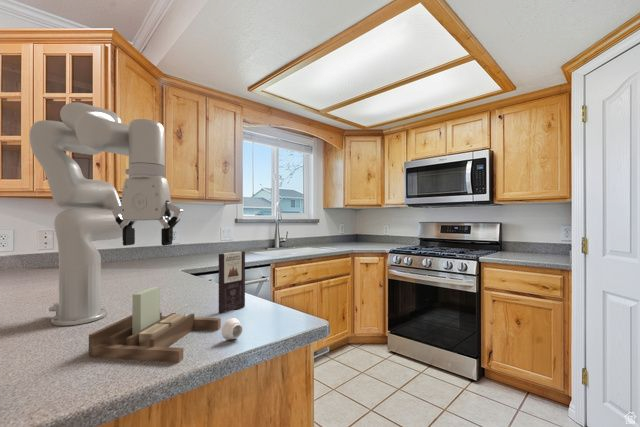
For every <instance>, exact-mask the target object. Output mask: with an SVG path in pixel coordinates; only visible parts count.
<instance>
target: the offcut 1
mask: <svg viewBox="0 0 640 427" xmlns="http://www.w3.org/2000/svg"><path fill="white" fill-rule="evenodd" d="M168 327H169V324H155V325H154V326H152V327H150V328H148V329H146V330H145V331H143V332H141V333H139V346H149V339H151V338H152V337H154V336H155V335H157V334H159V333H160V332H162V331H164V330H165V329H167V328H168Z"/></svg>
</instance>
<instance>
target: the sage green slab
mask: <svg viewBox="0 0 640 427" xmlns="http://www.w3.org/2000/svg"><path fill="white" fill-rule="evenodd" d="M160 313H161V286H151V287H149V288H146V289H143V290H140V291H138V292H134V293H133V294H132V314H131V315H132V335H133V334H135V333H137V332H139V331H140V330H142V329H144V328H146V327H148V326H149V325H151V324H153V323H155V322H157V321H159V320H160Z"/></svg>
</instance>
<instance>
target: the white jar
mask: <svg viewBox="0 0 640 427" xmlns="http://www.w3.org/2000/svg"><path fill="white" fill-rule="evenodd" d="M221 328H222V329H221V335H222V338H224V340H226V341H231V340H235V339H238V338H239V337H240V336H241V335H242V333H243V325H241V322H240V320H239V319H237V318H235V317H232V318H229V319H227V320H226V321H225V322H224V324H223V326H222V327H221Z"/></svg>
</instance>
